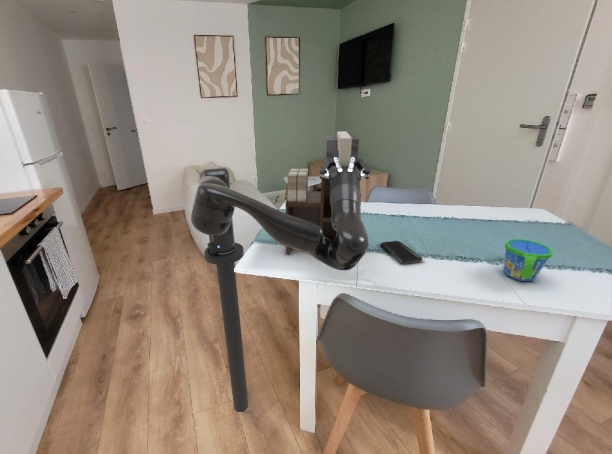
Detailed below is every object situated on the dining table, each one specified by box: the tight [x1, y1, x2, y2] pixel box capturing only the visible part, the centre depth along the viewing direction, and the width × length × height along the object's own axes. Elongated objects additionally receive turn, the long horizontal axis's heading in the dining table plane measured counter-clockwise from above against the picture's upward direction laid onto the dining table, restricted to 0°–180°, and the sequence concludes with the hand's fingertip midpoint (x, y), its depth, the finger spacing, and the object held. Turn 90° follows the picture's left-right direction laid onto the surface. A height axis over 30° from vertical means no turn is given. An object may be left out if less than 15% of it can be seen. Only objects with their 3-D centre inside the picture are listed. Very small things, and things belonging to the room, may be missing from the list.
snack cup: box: [503, 238, 554, 282], centre depth 87 cm, size 16×10×10 cm
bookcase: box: [285, 134, 360, 255], centre depth 104 cm, size 14×24×41 cm, turn 79°
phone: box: [380, 240, 423, 265], centre depth 105 cm, size 8×1×15 cm
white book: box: [336, 131, 352, 166], centre depth 87 cm, size 20×3×9 cm, turn 169°
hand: (343, 152), depth 84 cm, fingers closed on white book, 3 cm apart
